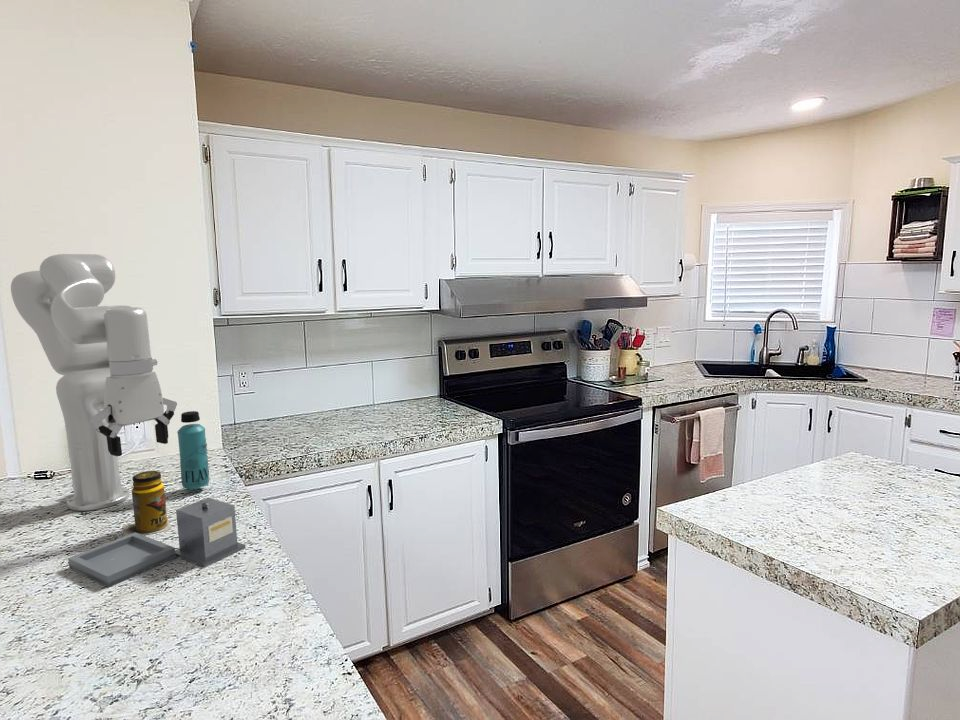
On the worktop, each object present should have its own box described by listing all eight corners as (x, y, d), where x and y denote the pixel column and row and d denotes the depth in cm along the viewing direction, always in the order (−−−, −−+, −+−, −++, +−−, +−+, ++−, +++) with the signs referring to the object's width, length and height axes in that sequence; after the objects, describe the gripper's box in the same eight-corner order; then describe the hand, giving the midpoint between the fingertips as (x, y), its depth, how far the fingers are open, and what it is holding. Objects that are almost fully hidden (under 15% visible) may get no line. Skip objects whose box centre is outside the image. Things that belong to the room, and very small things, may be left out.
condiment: (171, 529, 126) (166, 475, 124) (125, 540, 121) (119, 484, 120) (167, 517, 132) (162, 466, 130) (123, 527, 127) (117, 473, 126)
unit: (172, 554, 115) (167, 506, 113) (213, 536, 123) (209, 491, 121) (204, 567, 110) (200, 517, 108) (245, 547, 117) (241, 500, 116)
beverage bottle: (182, 496, 144) (174, 416, 141) (181, 488, 150) (174, 410, 147) (211, 491, 147) (205, 413, 144) (209, 483, 153) (203, 407, 150)
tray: (69, 568, 110) (68, 558, 110) (136, 541, 120) (135, 532, 120) (108, 587, 103) (107, 576, 103) (175, 557, 114) (174, 547, 113)
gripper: (161, 361, 130) (168, 436, 133) (75, 373, 116) (86, 457, 118) (181, 363, 127) (189, 440, 129) (96, 376, 112) (106, 463, 114)
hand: (140, 448), depth 124 cm, fingers open, 9 cm apart
